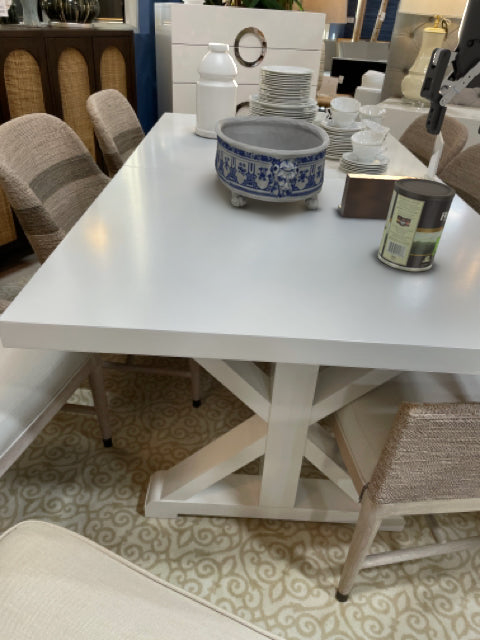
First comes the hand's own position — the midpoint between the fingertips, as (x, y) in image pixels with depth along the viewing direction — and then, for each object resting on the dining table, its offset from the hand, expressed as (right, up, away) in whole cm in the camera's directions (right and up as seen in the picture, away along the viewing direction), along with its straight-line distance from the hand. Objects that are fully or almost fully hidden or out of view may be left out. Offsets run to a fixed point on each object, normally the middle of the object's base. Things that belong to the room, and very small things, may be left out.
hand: (458, 134), depth 68 cm
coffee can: (0, -15, +22) cm, 27 cm away
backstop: (0, -3, +41) cm, 41 cm away
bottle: (-40, +39, +100) cm, 115 cm away
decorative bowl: (-25, +6, +51) cm, 57 cm away
